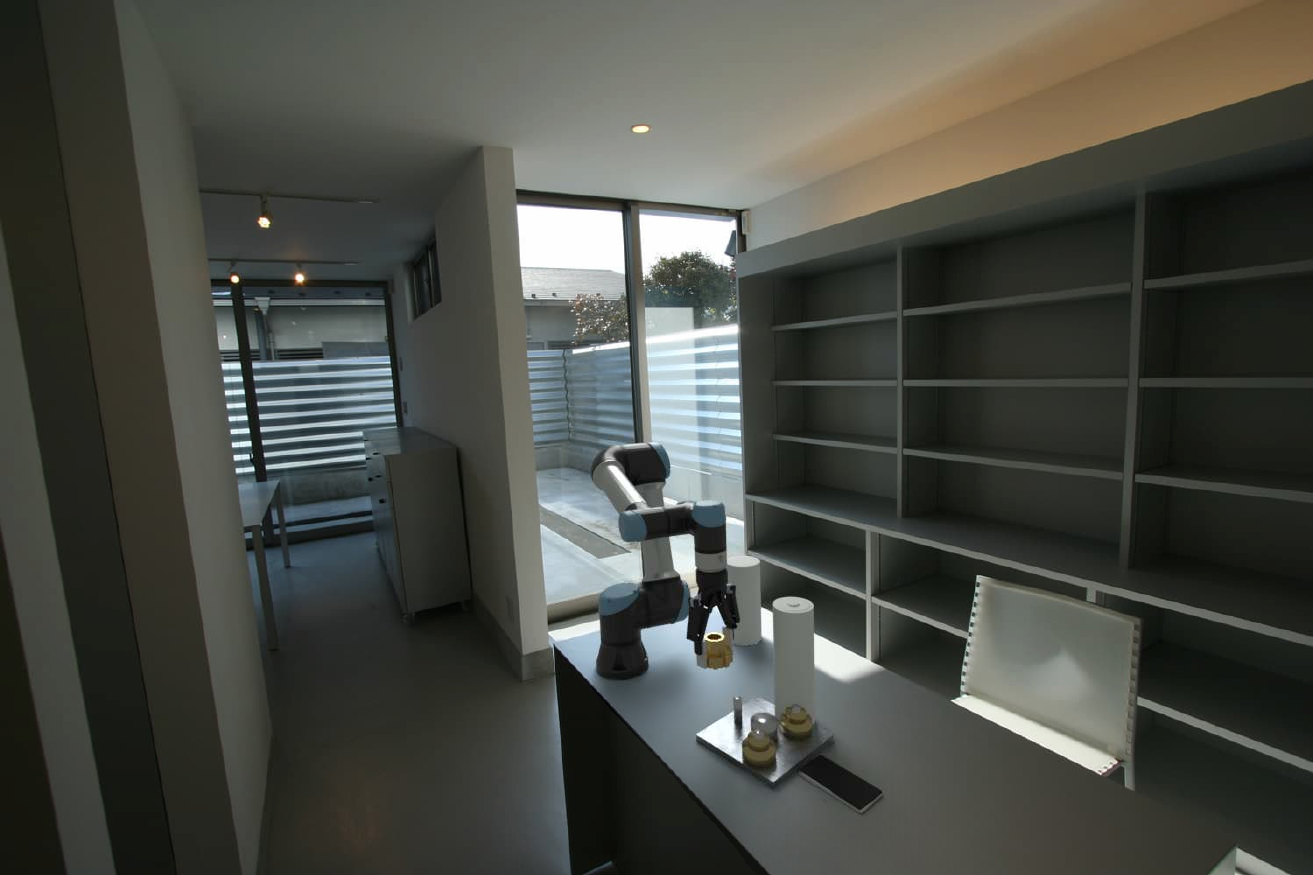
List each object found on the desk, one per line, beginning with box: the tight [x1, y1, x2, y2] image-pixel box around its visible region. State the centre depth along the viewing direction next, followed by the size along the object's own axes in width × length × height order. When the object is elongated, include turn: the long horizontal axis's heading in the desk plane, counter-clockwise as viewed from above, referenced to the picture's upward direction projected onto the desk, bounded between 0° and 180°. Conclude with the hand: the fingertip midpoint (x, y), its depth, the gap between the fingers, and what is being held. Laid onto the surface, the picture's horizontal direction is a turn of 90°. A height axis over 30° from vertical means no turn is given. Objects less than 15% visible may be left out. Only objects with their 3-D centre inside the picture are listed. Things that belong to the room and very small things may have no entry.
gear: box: [704, 632, 734, 671], centre depth 141 cm, size 8×8×6 cm
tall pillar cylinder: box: [726, 555, 762, 647], centre depth 184 cm, size 11×11×25 cm
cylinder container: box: [772, 596, 816, 725], centre depth 141 cm, size 9×9×30 cm
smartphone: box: [798, 754, 884, 814], centre depth 121 cm, size 8×1×15 cm
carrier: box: [695, 695, 835, 790], centre depth 135 cm, size 22×22×7 cm
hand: (715, 659), depth 141 cm, fingers closed on gear, 8 cm apart
